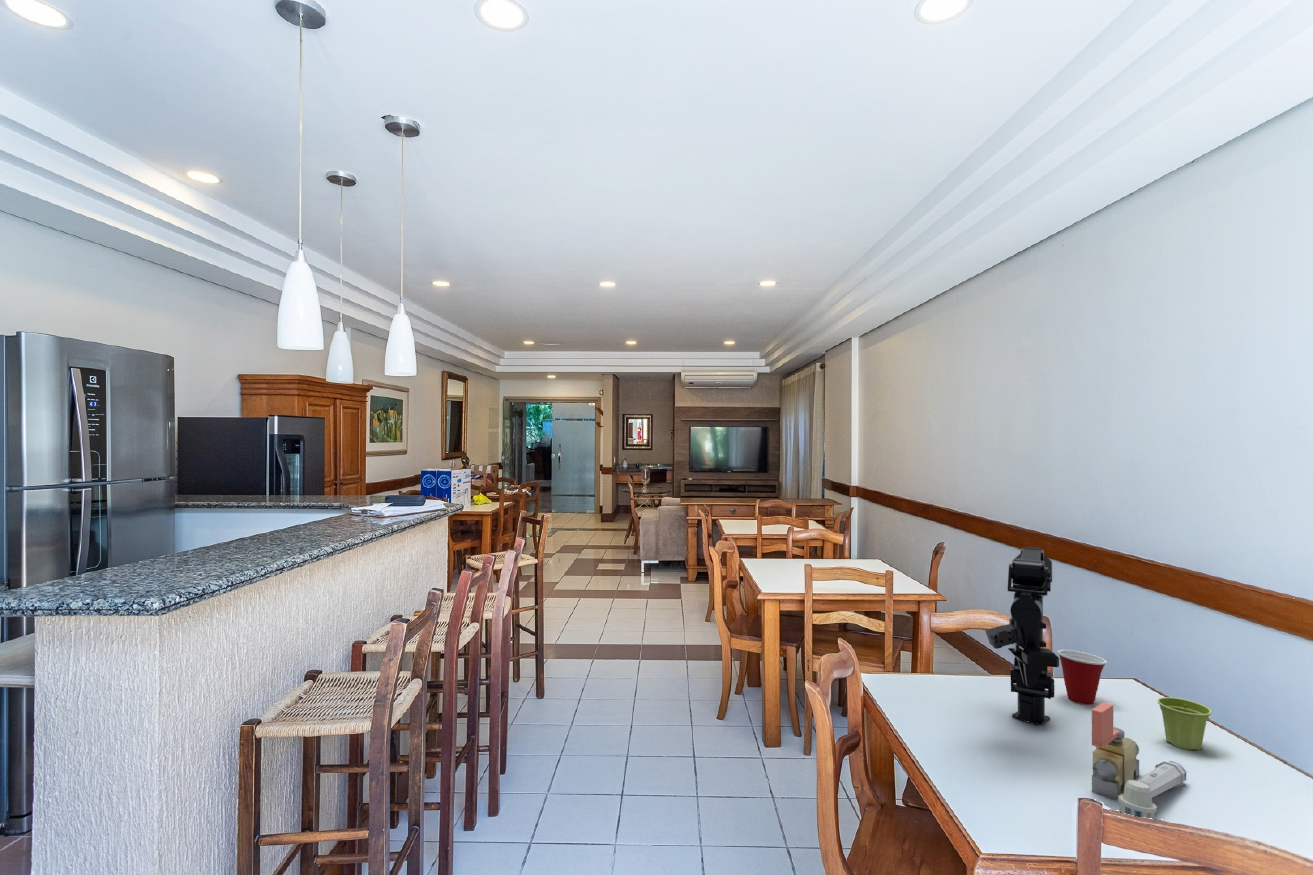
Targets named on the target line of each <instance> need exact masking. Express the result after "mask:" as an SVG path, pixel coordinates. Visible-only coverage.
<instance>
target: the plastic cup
mask: <svg viewBox="0 0 1313 875" xmlns="http://www.w3.org/2000/svg"><path fill="white" fill-rule="evenodd" d="M1057 654H1058V657H1059V661H1060V665H1061V668H1062V669H1061V670H1062V674H1063V681H1064V686H1065V690H1066V696H1067V699H1068V700H1069V701H1071V702H1072V703H1075V704H1080V705H1084V706H1085V705H1087V706H1092V705H1094V704H1095V702H1096V696H1097V692H1098V689H1099V684H1100V678H1101V675H1102V672H1103V669H1104V667H1105V665H1106V664H1107V660H1106V659H1104V658H1103V657H1100V656H1098V655H1094V654H1092V653H1088V652H1082V651H1079V650H1072V649H1058V650H1057Z"/></svg>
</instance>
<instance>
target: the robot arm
mask: <svg viewBox="0 0 1313 875" xmlns="http://www.w3.org/2000/svg"><path fill="white" fill-rule="evenodd" d="M1044 550H1045V549H1042V548H1039V547H1029V546H1028V547H1026V546H1024V547H1021V548H1020V553H1019V554H1018V555H1017V556H1016V557H1014V558H1013V559H1012V563H1009V564H1008V577H1007V592H1012V593H1014V594H1013V601H1012V603H1011V606H1010V610H1009V612H1010V615H1011V617H1010V618H1009V620H1008V621H1009V623H1008V624H1004V625H1003V624H1002V625H1000V626H996V627H995V626H994V627H991V628H988V629H986V630H985V634H986V637H987V639H988V642H989V645H991V646H992V647H993V649H997V650H998V649H1002V648H1003V647H1006V646H1009V645H1011V647H1009V648H1007V650H1008V651H1009V652H1010V653H1011V654H1012V655H1013V656H1014V658H1013V666H1012V665H1011V666H1010V692H1011V693H1017V711H1015V712H1014V713H1013V714H1011V717H1012V718H1015V719H1018V720H1021V721H1024V722H1027V723H1031V724H1034V725H1037V726H1043V725H1044V724H1046V723H1047V722H1048V721H1049V720H1050V719H1051V716H1048V715H1045V714H1046V713H1045V712H1046V711H1045V709H1046V707H1045V706H1046V702H1045V700H1046V699H1048V700H1051V699H1052V698H1053V699H1054V698H1055V680H1054V678H1053V676H1052V673H1051V672H1048V670H1049V669H1048V667H1050V668H1059V667H1060V656H1059V655H1057V654H1056V653H1055V652H1054V651H1053V650H1051V649H1050V648H1047V642H1046V641H1044V629H1045V630H1046V629H1047V624H1046V623H1045V622H1044V597H1045V596H1047V597H1048V593H1049V592H1051V587H1052V585H1051V583H1053V562H1052V560H1051V559H1050V558H1048V557H1047V556H1046V555H1045V552H1044Z"/></svg>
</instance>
